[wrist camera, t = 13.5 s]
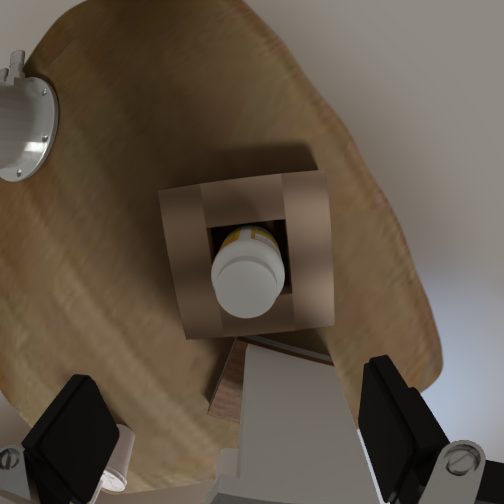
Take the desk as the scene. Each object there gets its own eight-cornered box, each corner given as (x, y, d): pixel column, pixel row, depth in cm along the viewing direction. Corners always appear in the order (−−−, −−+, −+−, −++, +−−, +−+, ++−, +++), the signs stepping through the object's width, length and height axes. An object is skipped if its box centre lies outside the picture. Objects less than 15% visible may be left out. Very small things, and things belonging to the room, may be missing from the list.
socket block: (167, 188, 27) (157, 190, 24) (318, 170, 27) (325, 169, 24) (192, 325, 31) (186, 339, 28) (328, 311, 30) (334, 325, 27)
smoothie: (103, 434, 36) (70, 498, 23) (105, 411, 35) (66, 481, 21) (140, 450, 37) (115, 519, 23) (146, 429, 35) (116, 505, 22)
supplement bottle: (224, 281, 29) (209, 330, 20) (218, 226, 28) (198, 253, 19) (280, 277, 29) (290, 325, 20) (277, 222, 28) (286, 246, 18)
